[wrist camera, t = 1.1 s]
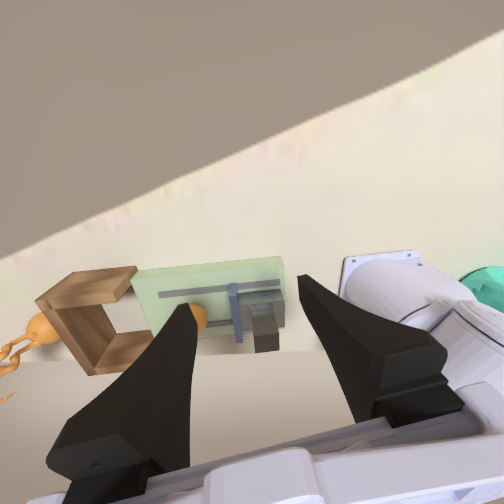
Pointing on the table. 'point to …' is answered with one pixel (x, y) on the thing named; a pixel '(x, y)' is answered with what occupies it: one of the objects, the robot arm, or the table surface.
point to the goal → (93, 319)
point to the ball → (199, 316)
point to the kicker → (258, 316)
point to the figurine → (38, 334)
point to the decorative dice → (487, 286)
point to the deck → (204, 290)
